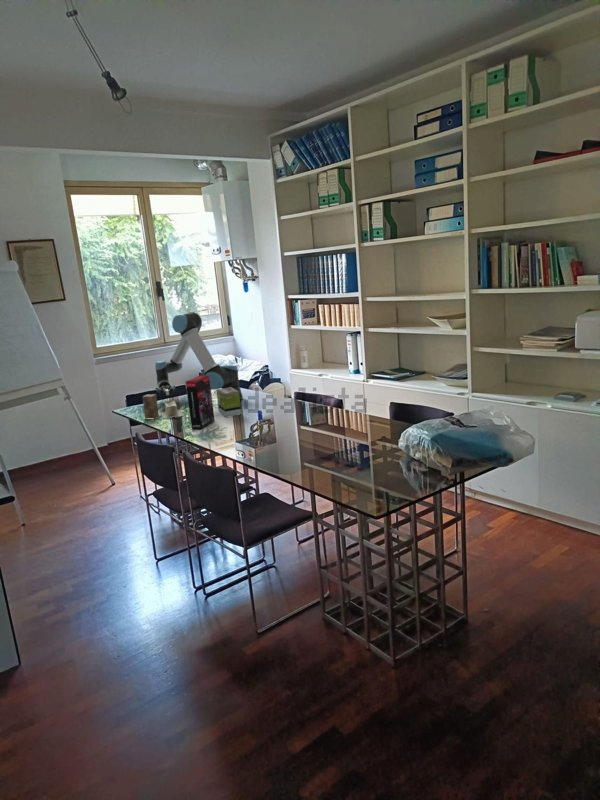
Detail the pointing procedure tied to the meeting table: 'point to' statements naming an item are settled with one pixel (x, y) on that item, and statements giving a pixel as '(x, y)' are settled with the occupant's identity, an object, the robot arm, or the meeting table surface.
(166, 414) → the grey felt mat
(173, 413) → the beech block
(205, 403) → the graphics card box
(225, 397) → the tea box
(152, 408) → the walnut block
